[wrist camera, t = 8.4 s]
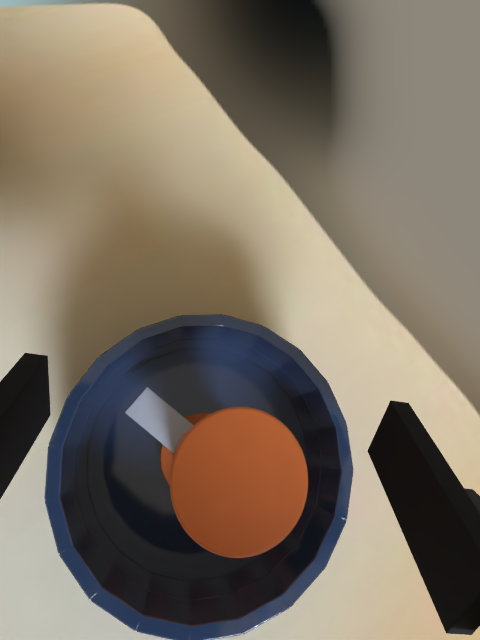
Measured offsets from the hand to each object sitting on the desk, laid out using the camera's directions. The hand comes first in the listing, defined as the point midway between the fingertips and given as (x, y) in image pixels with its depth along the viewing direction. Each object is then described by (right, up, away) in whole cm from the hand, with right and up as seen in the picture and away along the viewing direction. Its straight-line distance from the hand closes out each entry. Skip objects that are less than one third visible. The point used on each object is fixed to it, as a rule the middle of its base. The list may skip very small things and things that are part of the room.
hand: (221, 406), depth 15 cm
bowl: (-1, -4, +7) cm, 8 cm away
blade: (-1, -4, +6) cm, 8 cm away
